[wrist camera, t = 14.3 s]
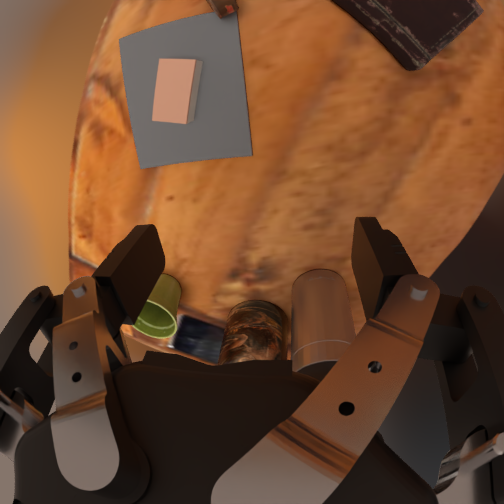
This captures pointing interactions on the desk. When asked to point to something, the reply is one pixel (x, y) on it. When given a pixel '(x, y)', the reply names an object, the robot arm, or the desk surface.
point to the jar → (254, 333)
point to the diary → (414, 25)
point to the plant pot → (160, 309)
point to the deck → (176, 90)
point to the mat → (208, 98)
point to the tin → (223, 7)
